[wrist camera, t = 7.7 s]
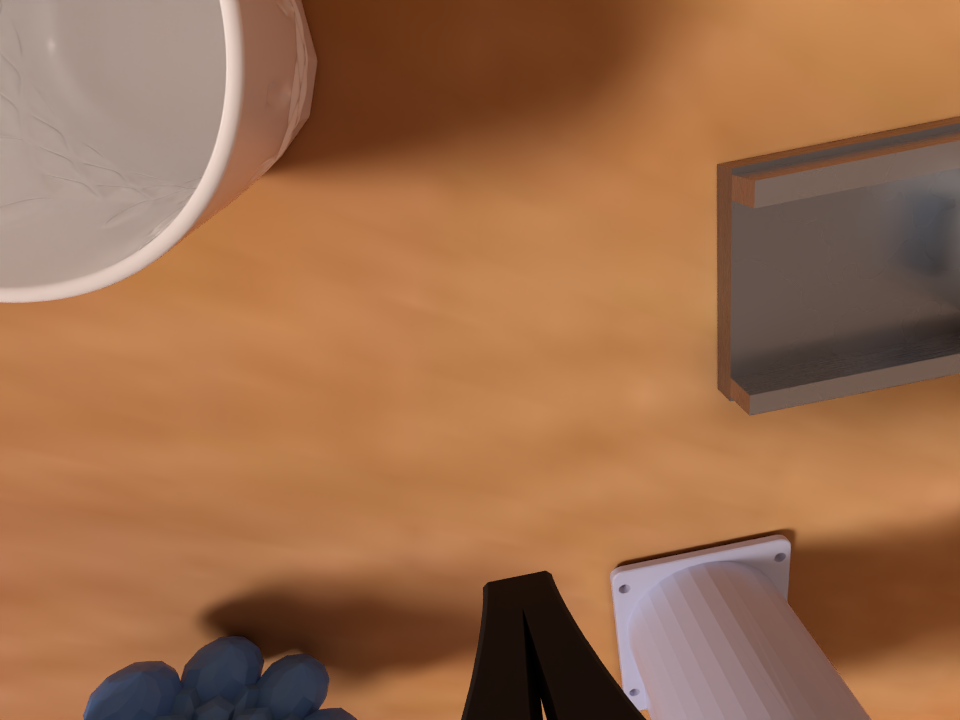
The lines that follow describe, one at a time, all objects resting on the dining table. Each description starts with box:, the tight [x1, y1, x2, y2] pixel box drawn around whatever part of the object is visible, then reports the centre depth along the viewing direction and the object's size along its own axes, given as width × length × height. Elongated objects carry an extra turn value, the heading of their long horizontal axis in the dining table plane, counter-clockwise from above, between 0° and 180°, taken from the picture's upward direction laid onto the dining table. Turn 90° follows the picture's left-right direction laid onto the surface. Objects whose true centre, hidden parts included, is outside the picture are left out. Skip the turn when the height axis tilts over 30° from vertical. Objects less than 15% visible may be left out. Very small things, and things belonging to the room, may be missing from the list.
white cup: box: [0, 0, 318, 303], centre depth 12 cm, size 8×8×10 cm
